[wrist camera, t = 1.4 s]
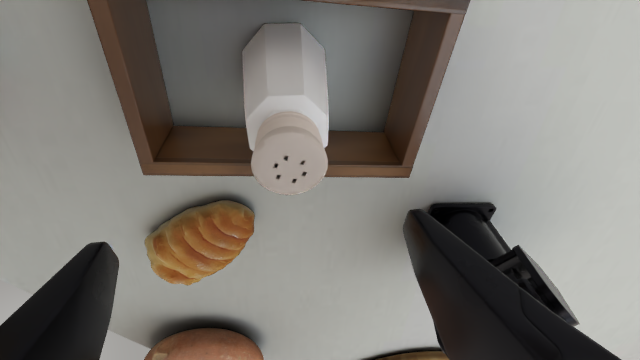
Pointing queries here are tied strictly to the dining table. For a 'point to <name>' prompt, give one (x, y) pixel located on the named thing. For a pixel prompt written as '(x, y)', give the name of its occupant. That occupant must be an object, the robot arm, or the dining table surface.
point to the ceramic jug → (205, 346)
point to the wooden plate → (418, 356)
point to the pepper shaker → (286, 108)
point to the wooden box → (232, 143)
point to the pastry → (199, 241)
